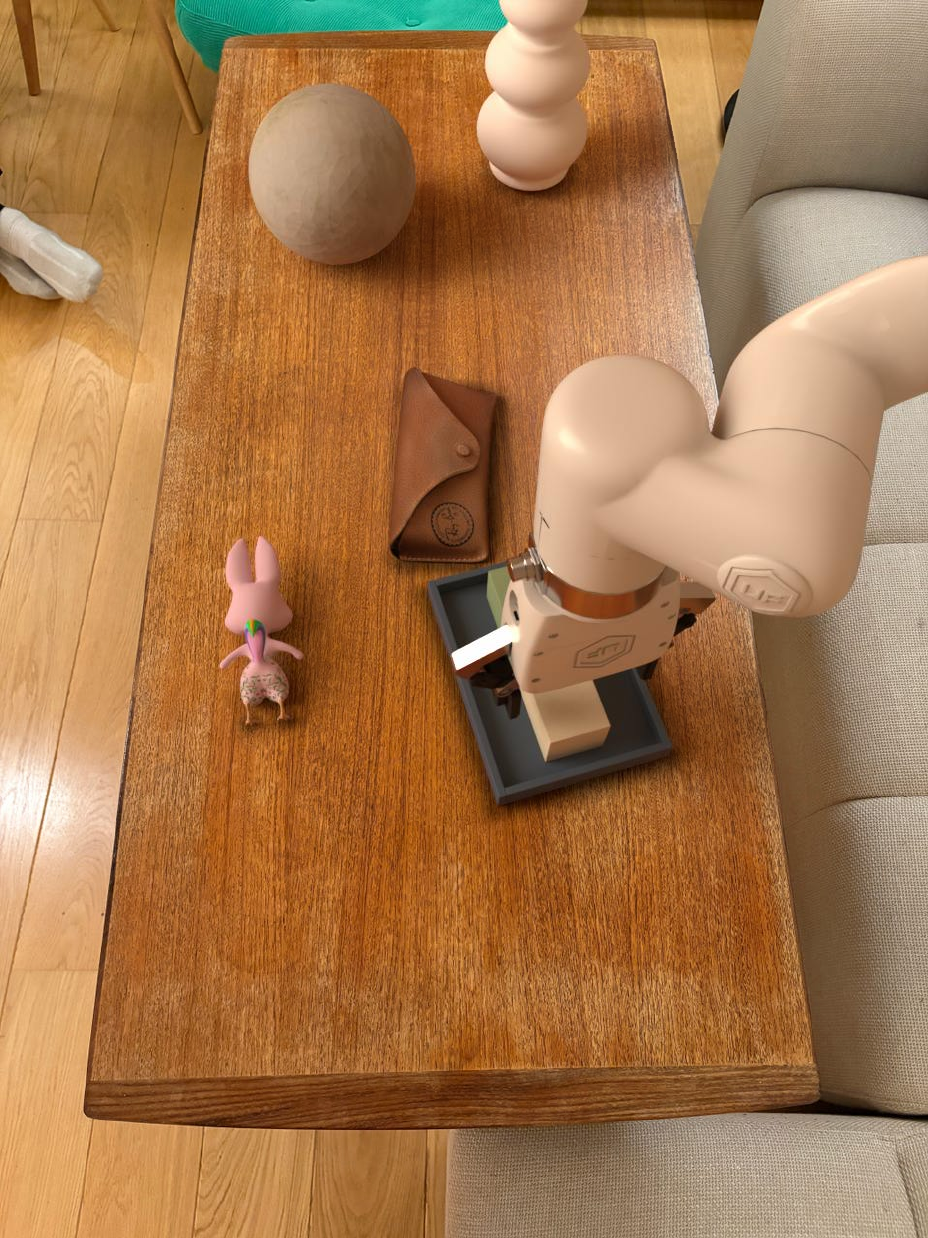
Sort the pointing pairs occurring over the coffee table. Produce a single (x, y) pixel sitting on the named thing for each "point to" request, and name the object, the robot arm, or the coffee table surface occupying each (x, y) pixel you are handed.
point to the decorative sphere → (332, 174)
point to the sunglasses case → (441, 472)
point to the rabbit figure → (258, 623)
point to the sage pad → (498, 592)
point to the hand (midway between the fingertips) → (573, 680)
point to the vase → (535, 94)
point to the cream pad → (567, 720)
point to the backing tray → (514, 741)
